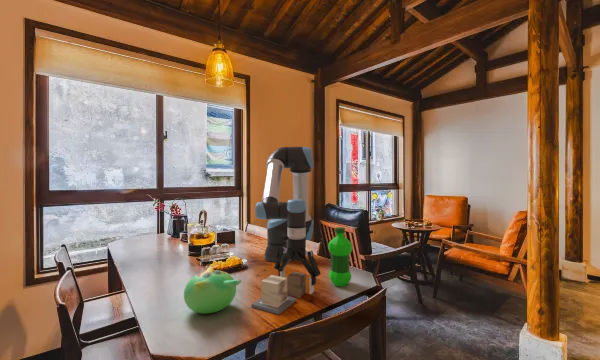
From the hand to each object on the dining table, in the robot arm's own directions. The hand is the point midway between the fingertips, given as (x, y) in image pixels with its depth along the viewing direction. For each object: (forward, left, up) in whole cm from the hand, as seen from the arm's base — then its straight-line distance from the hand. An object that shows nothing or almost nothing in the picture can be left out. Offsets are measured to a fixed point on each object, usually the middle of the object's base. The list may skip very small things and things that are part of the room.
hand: (296, 289), depth 117 cm
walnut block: (0, 0, -2) cm, 2 cm away
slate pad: (+12, -3, -2) cm, 12 cm away
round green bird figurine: (+27, -20, -2) cm, 34 cm away
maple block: (+12, -3, -1) cm, 12 cm away
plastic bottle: (-18, +12, -2) cm, 22 cm away
